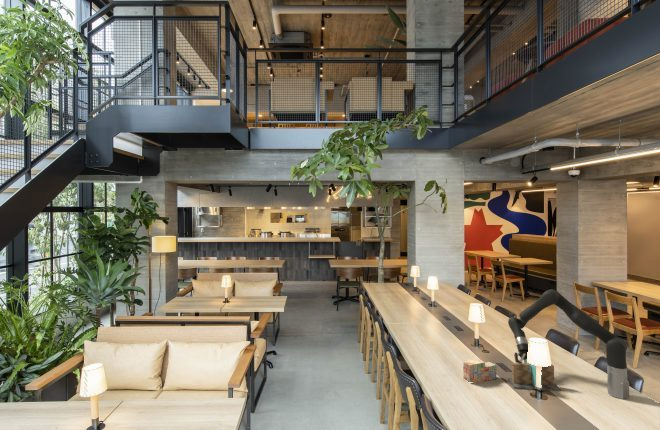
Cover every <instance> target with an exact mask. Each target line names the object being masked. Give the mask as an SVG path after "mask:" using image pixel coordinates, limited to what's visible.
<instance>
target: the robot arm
mask: <svg viewBox="0 0 660 430" xmlns="http://www.w3.org/2000/svg"><path fill="white" fill-rule="evenodd" d="M552 305H554V306H556V307H558V308H559V309H560V310H561V311H563V312H564V313H565V315H566V316H567V317H568V318H569V320H570V321H571V322H572V323H573V324H574V325H576V326H577V327H579V329H582V331H584V332H586V333H588V334H590V335H592V336H595V337H596V338H598V339H599V340H601V341H602V342H603V343H604V344H605V357H606V363H607V364H606V366H607V367H606V368H607V370H606V372H607V373H606V374H607V376H606V378H607V379H606V380H607V394H608V395H609V396H611V397H613V398H618V399H621V400H626V399H628V398H630V381H629V380H628V364H627V355H626V352H627V350H628V345H627V343H626V342H625V340H624V339H622V338H621V337H619V336H617V334H614V333H613V332H611V331H610V330H608V329H606V328H605V327H604V326H602V325H601V324H600V323H599V322H597V321H596V320H595V319H594V318H592V317H591V316H590V315H589V314H588V313H586V312H585V311H583V310H581V309H580V308H578V307H577V306H576V305H574V304H573V303H572V302H570V301H569V300H568V299H567V298H565V296H563V295H562V294H561V293H560V292H559V291H557V290H555V289H548V290H545V291H544V292H543V293H542V295H540V297H539V298H538V299H537V300H536V301H535V302H533V303H532V304H531V305H530V306H528V307H526V308H524V310H522V311H521V312H520V313H519V314H518V317H519V318H517V317H515V316H511V317H509V318H508V321H507V322H508V327H509V328H510V330H511V332H512V334H513V336H514V340H515V344H516V345H515V346H516V347H517V352H514V354H513V356H514V360H515V363H523V361H524V360H525V359H527V352H528V344H529V340H528V339H527V336H526V333H525V331H524V330H523V329H524V328H525V326H526V325H527V324H528V322H529V321H531V320H532V319H534V318H535V317H536V316H537V315H538V314H540V312H541V311H543V310H544V309H546V308H548V307H550V306H552ZM519 357H520V359H519Z"/></svg>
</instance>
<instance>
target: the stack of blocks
mask: <svg viewBox="0 0 660 430" xmlns="http://www.w3.org/2000/svg"><path fill="white" fill-rule="evenodd" d="M462 363H463V364H462V365H463V366H462V367H463V368H462V369H463V380H464V379H465V380H467V381H468V382H477V383H480V382H479V381H482V382H486V381H485V380H488V381H492V380H497V364H495V363H492V362H491V361H487V362H486V361H483V360H481V359H477V358H476V359H471V360H465V361H463V362H462ZM465 380H464V381H465ZM468 382H467V383H468Z"/></svg>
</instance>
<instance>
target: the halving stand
mask: <svg viewBox="0 0 660 430" xmlns="http://www.w3.org/2000/svg"><path fill="white" fill-rule="evenodd" d="M511 368H512V369H511V372H512V373H511V375H512V376H511V377H512V378H506V379H507V382H508V383H509V384H510V385H511V387H512V388H513V390H514V389H515V390H517V389H518V390H534V389H535V387H534V386H533V385H532V374H531V373H530V365H529V364H528V363H523V362H522V363H516V362H511ZM541 372H542V391H554V392H555V391H557V392H560V391H561V388H560V387H559V386H558V385H557V384H556V383H555V365H553V364H551V366H548V367H542V370H541Z"/></svg>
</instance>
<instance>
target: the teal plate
mask: <svg viewBox="0 0 660 430" xmlns="http://www.w3.org/2000/svg"><path fill="white" fill-rule="evenodd" d="M523 362H524V363H527V359H525V360H523ZM528 364H529V363H528ZM529 365H530V373H531V374H532V385H533V386H534V387H535V385H536V366H534V365H531V364H529ZM541 385H542V375H541Z"/></svg>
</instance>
